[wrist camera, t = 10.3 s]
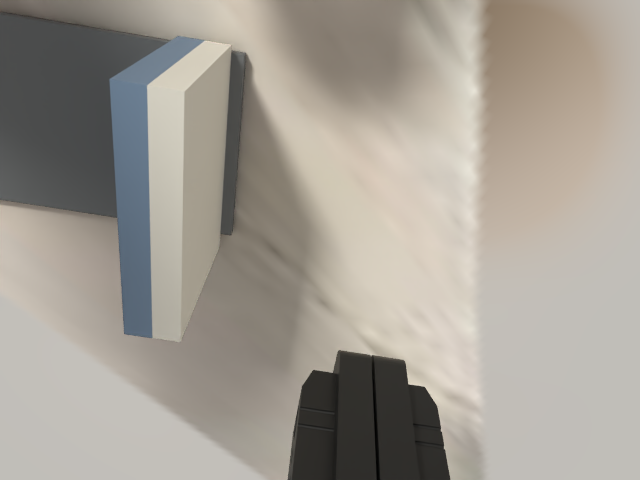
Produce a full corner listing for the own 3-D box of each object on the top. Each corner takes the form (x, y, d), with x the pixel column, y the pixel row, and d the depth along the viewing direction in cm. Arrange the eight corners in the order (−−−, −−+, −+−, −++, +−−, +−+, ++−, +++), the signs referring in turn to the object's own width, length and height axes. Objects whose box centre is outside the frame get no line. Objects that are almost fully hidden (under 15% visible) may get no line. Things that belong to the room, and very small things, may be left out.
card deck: (176, 240, 24) (178, 36, 19) (219, 246, 24) (231, 44, 19) (124, 333, 18) (109, 79, 14) (180, 342, 19) (184, 91, 14)
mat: (-72, -1, 20) (-79, 1, 19) (246, 52, 20) (244, 55, 20) (-30, 190, 24) (-36, 194, 23) (232, 230, 24) (230, 235, 24)
